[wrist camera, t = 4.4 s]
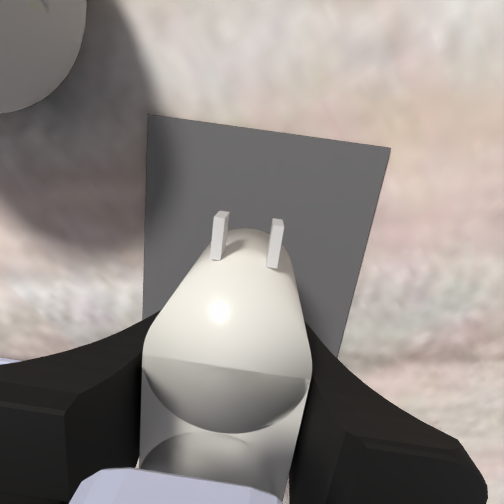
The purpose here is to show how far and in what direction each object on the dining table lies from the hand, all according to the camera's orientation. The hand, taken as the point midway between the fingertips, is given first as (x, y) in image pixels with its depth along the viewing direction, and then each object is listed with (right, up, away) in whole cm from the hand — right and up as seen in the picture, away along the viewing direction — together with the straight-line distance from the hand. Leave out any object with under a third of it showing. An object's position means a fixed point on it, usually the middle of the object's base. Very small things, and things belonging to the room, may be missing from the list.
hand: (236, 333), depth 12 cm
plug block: (0, 0, +1) cm, 1 cm away
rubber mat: (0, +2, +5) cm, 6 cm away
